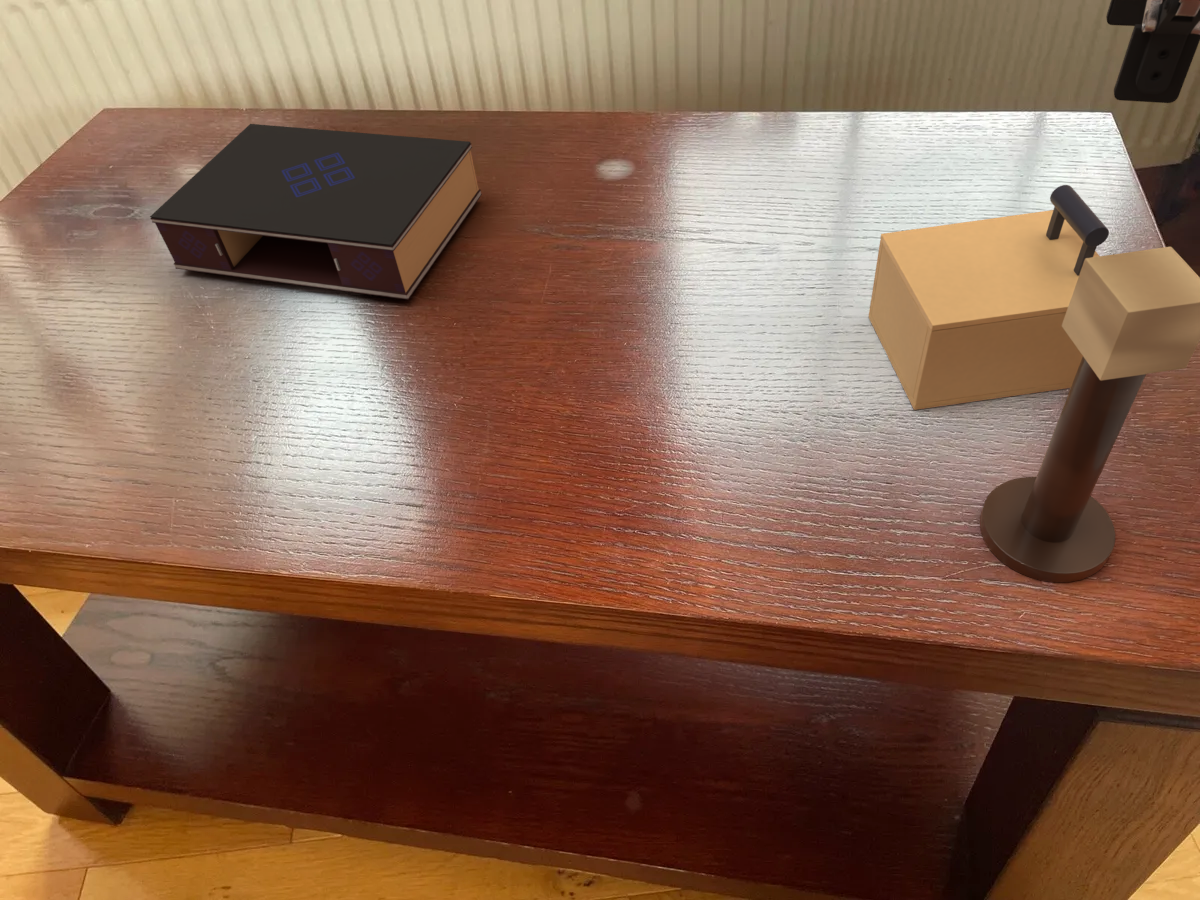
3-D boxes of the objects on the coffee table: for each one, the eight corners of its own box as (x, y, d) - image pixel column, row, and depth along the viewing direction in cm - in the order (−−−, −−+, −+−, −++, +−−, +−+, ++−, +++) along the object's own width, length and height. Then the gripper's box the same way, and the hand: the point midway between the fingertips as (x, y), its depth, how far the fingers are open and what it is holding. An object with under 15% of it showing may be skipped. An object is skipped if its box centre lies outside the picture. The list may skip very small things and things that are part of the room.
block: (1141, 314, 51) (1171, 245, 48) (1186, 369, 48) (1220, 299, 45) (1061, 326, 51) (1084, 258, 48) (1100, 381, 48) (1128, 312, 45)
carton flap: (1059, 214, 72) (1076, 160, 69) (1131, 303, 64) (1154, 247, 61) (880, 239, 72) (888, 186, 69) (931, 331, 64) (943, 276, 61)
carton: (1024, 295, 78) (1048, 216, 72) (1087, 385, 70) (1120, 305, 64) (868, 316, 78) (879, 239, 72) (913, 410, 70) (931, 331, 64)
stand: (1107, 496, 63) (1196, 308, 51) (1114, 593, 58) (1216, 409, 46) (981, 477, 65) (1039, 292, 53) (977, 569, 60) (1041, 387, 48)
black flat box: (410, 307, 84) (391, 245, 79) (178, 275, 91) (148, 216, 86) (483, 201, 95) (470, 141, 90) (272, 180, 101) (250, 123, 97)
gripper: (1404, -267, 36) (1227, 138, 49) (1321, -347, 47) (1193, 1, 60) (1188, -259, 38) (1071, 128, 51) (1156, -338, 49) (1066, -3, 62)
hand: (1137, 59), depth 55 cm, fingers open, 9 cm apart
